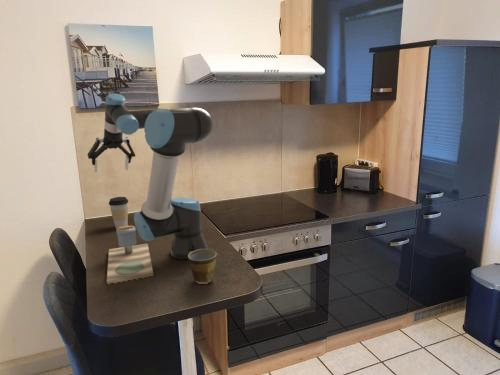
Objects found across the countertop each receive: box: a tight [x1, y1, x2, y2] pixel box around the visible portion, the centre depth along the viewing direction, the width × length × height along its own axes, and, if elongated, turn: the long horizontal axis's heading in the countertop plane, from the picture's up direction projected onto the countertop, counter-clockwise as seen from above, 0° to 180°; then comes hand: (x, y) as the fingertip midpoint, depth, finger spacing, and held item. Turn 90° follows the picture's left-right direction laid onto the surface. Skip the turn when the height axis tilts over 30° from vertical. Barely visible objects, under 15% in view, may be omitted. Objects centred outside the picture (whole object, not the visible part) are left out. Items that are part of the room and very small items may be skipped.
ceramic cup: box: [187, 248, 217, 282], centre depth 136 cm, size 13×10×10 cm
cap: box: [116, 225, 138, 248], centre depth 157 cm, size 7×7×7 cm
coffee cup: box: [108, 196, 129, 230], centre depth 193 cm, size 9×9×15 cm
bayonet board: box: [106, 242, 154, 285], centre depth 151 cm, size 30×16×10 cm, turn 18°
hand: (111, 169), depth 177 cm, fingers open, 13 cm apart
